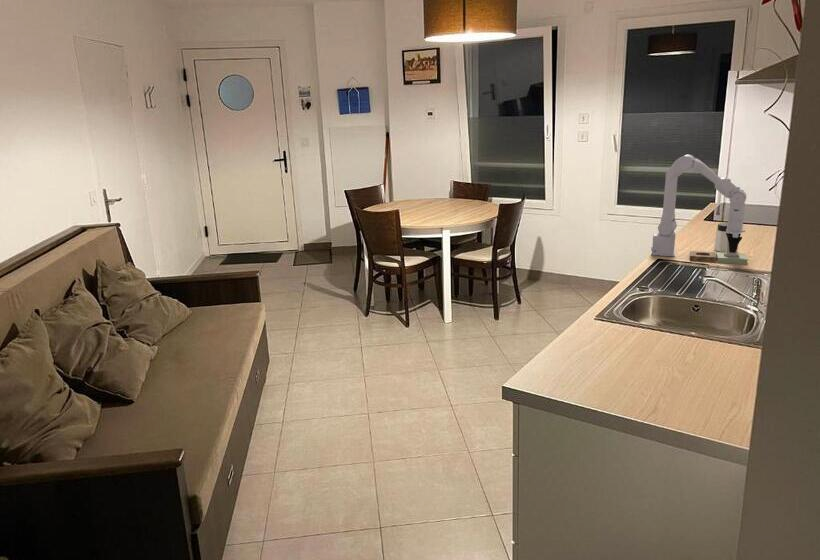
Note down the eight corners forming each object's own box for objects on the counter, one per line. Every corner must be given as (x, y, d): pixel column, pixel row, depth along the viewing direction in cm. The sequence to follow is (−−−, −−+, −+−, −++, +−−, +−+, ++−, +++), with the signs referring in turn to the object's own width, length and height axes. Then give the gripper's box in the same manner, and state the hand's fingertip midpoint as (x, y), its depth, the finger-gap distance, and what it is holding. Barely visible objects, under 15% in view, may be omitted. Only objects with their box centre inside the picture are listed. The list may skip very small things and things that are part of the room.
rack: (717, 262, 256) (717, 257, 256) (715, 256, 266) (716, 252, 266) (746, 264, 252) (747, 259, 252) (744, 258, 262) (744, 253, 262)
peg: (725, 261, 258) (727, 242, 256) (724, 259, 262) (726, 240, 260) (736, 261, 257) (738, 243, 255) (735, 259, 260) (737, 241, 258)
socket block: (689, 260, 261) (690, 255, 260) (689, 255, 270) (689, 250, 269) (715, 262, 257) (716, 257, 257) (714, 256, 266) (715, 252, 265)
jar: (739, 252, 272) (742, 226, 269) (721, 253, 272) (724, 226, 269) (728, 248, 281) (731, 222, 278) (711, 248, 281) (714, 223, 278)
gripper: (748, 222, 247) (744, 255, 250) (744, 216, 260) (741, 248, 263) (728, 222, 249) (725, 254, 253) (726, 216, 262) (722, 247, 266)
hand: (732, 251), depth 258 cm, fingers open, 4 cm apart
